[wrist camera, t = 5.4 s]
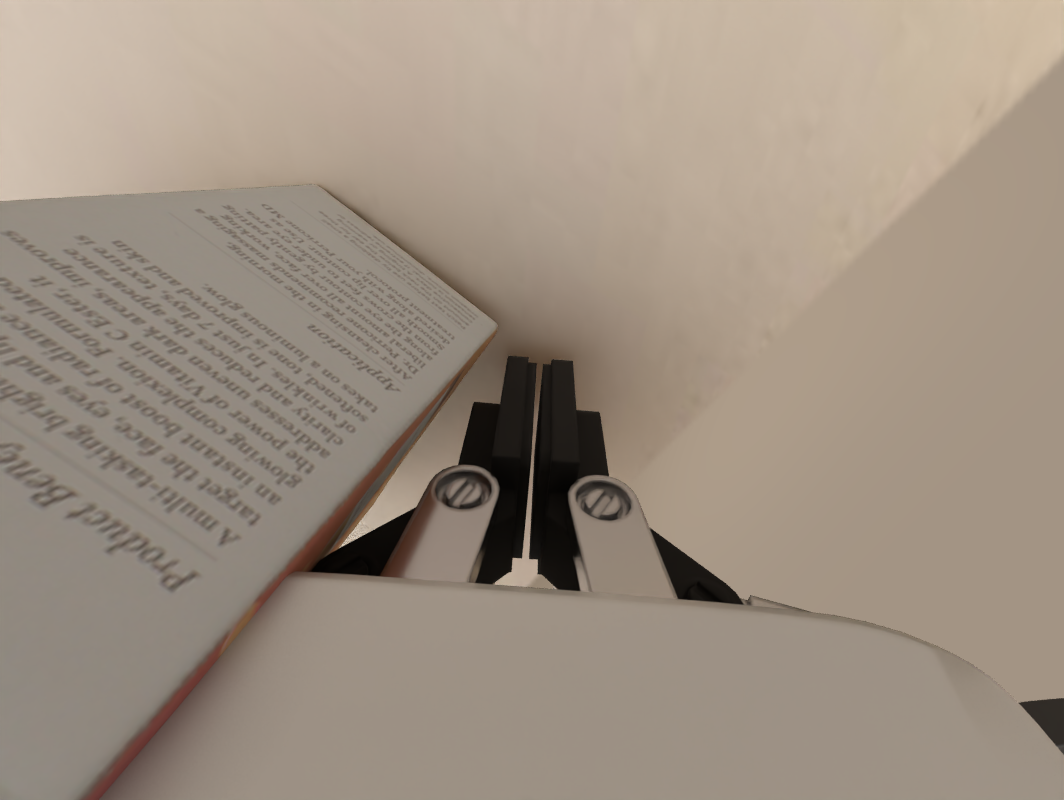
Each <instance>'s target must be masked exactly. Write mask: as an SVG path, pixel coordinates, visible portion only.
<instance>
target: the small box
mask: <svg viewBox="0 0 1064 800" xmlns="http://www.w3.org/2000/svg"><path fill="white" fill-rule="evenodd" d="M497 329H498V326H497V323H495V322H494V321H493V320H492V319H491V318H490V317H488V316H487V315H486V314H484V313H483V312H482V311H480V310H479V309H478V308H477V307H475V306H474V305H473V304H471V303H470V302H469V301H467V300H466V299H465V298H464V297H462V296H461V295H460V294H459V293H457V292H456V291H455V290H453V289H452V288H451V287H450V286H448V285H447V284H446V283H444V282H443V281H442V280H441V279H439V278H438V277H437V276H436V275H434V274H433V273H432V272H430V271H429V270H428V269H427V268H425V267H424V266H423V265H421V264H420V263H419V262H417V261H416V260H415V259H414V258H412V257H411V256H410V255H408V254H407V253H406V252H404V251H403V250H402V249H401V248H399V247H398V246H397V245H395V244H394V243H393V242H392V241H390V240H389V239H388V238H386V237H385V236H384V235H382V234H381V233H380V232H379V231H377V230H376V229H375V228H373V227H372V226H371V225H369V224H368V223H367V222H365V221H364V220H363V219H362V218H360V217H359V216H358V215H356V214H355V213H354V212H352V211H351V210H350V209H348V208H347V207H346V206H344V205H343V204H342V203H340V202H339V201H338V200H336V199H335V198H334V197H332V196H331V195H330V194H329V193H328V192H326V191H325V190H324V189H323V188H321V187H319V186H317V185H315V184H309V185H294V186H275V187H260V188H239V189H222V190H201V191H182V192H163V193H145V194H124V195H102V196H80V197H64V198H48V199H31V200H14V201H0V800H99V799H100V798H101V797H102V796H103V794H104V793H105V792H106V791H107V790H108V789H109V787H110V786H111V785H112V784H113V783H114V782H115V780H116V779H117V778H118V777H119V776H120V775H121V773H122V772H123V771H124V770H125V769H126V768H127V766H128V765H129V764H130V763H131V762H132V761H133V759H134V758H135V757H136V756H137V755H138V754H139V752H140V751H141V750H142V749H143V748H144V747H145V745H146V744H147V743H148V742H149V741H150V740H151V738H152V737H153V736H154V735H155V734H156V733H157V731H158V730H159V729H160V728H161V727H162V726H163V724H164V723H165V722H166V721H167V720H168V719H169V717H170V716H171V715H172V714H173V713H174V711H175V710H176V709H177V708H178V707H179V705H180V704H181V703H182V702H183V701H184V699H185V698H186V697H187V696H188V695H189V693H190V692H191V691H192V690H193V689H194V687H195V686H196V685H197V684H198V683H199V681H200V680H201V679H202V678H203V677H204V675H205V674H206V673H207V672H208V670H209V669H210V668H211V667H212V666H213V664H214V663H215V662H216V661H217V660H218V658H219V657H220V656H221V655H222V654H223V652H224V651H225V650H226V649H227V648H228V646H229V645H230V644H231V643H232V642H233V640H234V639H235V638H236V637H237V635H238V634H239V633H240V632H241V631H242V629H243V628H244V627H245V626H246V625H247V623H248V622H249V621H250V620H251V619H252V617H253V616H254V615H255V614H256V613H257V611H258V610H259V609H260V608H261V606H262V605H263V604H264V603H265V602H266V600H267V599H268V598H269V597H270V596H271V594H272V593H273V592H274V591H275V590H276V588H277V587H278V586H279V585H280V583H281V582H282V581H283V580H284V579H285V577H287V576H288V575H289V574H291V573H293V572H295V571H300V572H311V571H312V569H313V568H314V567H315V566H316V564H317V563H318V562H319V561H320V560H321V559H323V558H324V557H326V556H327V555H328V554H330V553H332V552H334V551H335V550H337V549H338V548H339V547H340V546H341V545H342V543H343V542H344V541H345V540H346V538H347V537H348V536H349V534H350V533H351V532H352V531H353V529H354V528H355V527H356V526H357V524H358V523H359V522H360V520H361V519H362V518H363V517H364V515H365V514H366V513H367V512H368V510H369V509H370V508H371V507H372V505H373V504H374V502H375V501H376V499H377V498H378V496H379V495H380V493H381V492H382V490H383V489H384V487H385V486H386V484H387V482H388V481H389V480H390V478H391V477H392V475H393V474H394V472H395V471H396V469H397V468H398V466H399V465H400V464H401V462H402V461H403V460H404V458H405V457H406V455H407V454H408V453H409V451H410V450H411V449H412V447H413V446H414V445H415V443H416V442H417V440H418V439H419V438H420V436H421V435H422V434H423V432H424V431H425V430H426V428H427V427H428V426H429V424H430V423H431V421H432V420H433V419H434V417H435V416H436V415H437V413H438V412H439V411H440V409H441V408H442V406H443V405H444V404H445V402H446V401H447V400H448V398H449V397H450V396H451V394H452V393H453V392H454V390H455V389H456V387H457V386H458V385H459V383H460V382H461V381H462V379H463V378H464V377H465V375H466V374H467V373H468V371H469V370H470V368H471V367H472V366H473V364H474V363H475V362H476V360H477V359H478V357H479V356H480V355H481V353H482V352H483V351H484V349H485V348H486V347H487V345H488V344H489V342H490V341H491V340H492V338H493V337H494V335H495V334H496V332H497Z"/></svg>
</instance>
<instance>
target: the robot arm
mask: <svg viewBox="0 0 1064 800" xmlns="http://www.w3.org/2000/svg"><path fill="white" fill-rule="evenodd" d="M528 362H529V357H518V356H508V359H507V365H506V371H505V377H504V384H503V390H502V396H501V402H500V404H493V403H481V402H474V403H473V407H472V411H471V415H470V419H469V423H468V427H467V431H466V435H465V439H464V443H463V447H462V451H461V455H460V459H459V463H458V465H457V466H452V467H449V468H446V469H444V470H442V471H440V472H439V473H438V474H436V475H435V476H434V477H433V479H432V480H431V481H430V483H429V484H428V486H427V488H426V490H425V492H424V494H423V496H422V498H421V499H420V501H419V503H418V505H417V507H416V508H414V509H412V510H410V511H408V512H406V513H404V514H403V515H401V516H399V517H397V518H395V519H393V520H391V521H390V522H388V523H386V524H384V525H382V526H380V527H378V528H376V529H375V530H373V531H371V532H369V533H367V534H365V535H363V536H362V537H360V538H358V539H356V540H354V541H352V542H350V543H348V544H347V545H345V546H343V547H341V548H339V549H337V550H335V551H334V552H332V553H330V554H328V555H327V556H326V557H324V558H323V559H321V560H320V561H319V562H318V563H317V564H316V566H315V567H314V568H313V569H312V571H311V572H300V571H295V572H293V573H291V574H289V575H288V576H287V577H285V579H284V580H283V581H282V582H281V583H280V585H279V586H278V587H277V588H276V590H275V591H274V592H273V593H272V594H271V596H270V597H269V598H268V599H267V600H266V602H265V603H264V604H263V605H262V606H261V608H260V609H259V610H258V611H257V613H256V614H255V615H254V616H253V617H252V619H251V620H250V621H249V622H248V623H247V625H246V626H245V627H244V628H243V629H242V631H241V632H240V633H239V634H238V635H237V637H236V638H235V639H234V640H233V642H232V643H231V644H230V645H229V646H228V648H227V649H226V650H225V651H224V652H223V654H222V655H221V656H220V657H219V658H218V660H217V661H216V662H215V663H214V664H213V666H212V667H211V668H210V669H209V670H208V672H207V673H206V674H205V675H204V677H203V678H202V679H201V680H200V681H199V683H198V684H197V685H196V686H195V687H194V689H193V690H192V691H191V692H190V693H189V695H188V696H187V697H186V698H185V699H184V701H183V702H182V703H181V704H180V705H179V707H178V708H177V709H176V710H175V711H174V713H173V714H172V715H171V716H170V717H169V719H168V720H167V721H166V722H165V723H164V724H163V726H162V727H161V728H160V729H159V730H158V731H157V733H156V734H155V735H154V736H153V737H152V738H151V740H150V741H149V742H148V743H147V744H146V745H145V747H144V748H143V749H142V750H141V751H140V752H139V754H138V755H137V756H136V757H135V758H134V759H133V761H132V762H131V763H130V764H129V765H128V766H127V768H126V769H125V770H124V771H123V772H122V773H121V775H120V776H119V777H118V778H117V779H116V780H115V782H114V783H113V784H112V785H111V786H110V787H109V789H108V790H107V791H106V792H105V793H104V794H103V796H102V797H101V798H100V799H99V800H1064V755H1063V753H1062V752H1061V751H1060V750H1059V749H1058V747H1057V746H1056V745H1055V744H1054V743H1053V742H1052V740H1051V739H1050V738H1049V737H1048V736H1047V734H1046V733H1045V732H1044V731H1043V730H1042V728H1041V727H1040V726H1039V725H1038V724H1037V723H1036V722H1035V720H1034V719H1033V718H1032V717H1031V716H1030V715H1029V714H1028V713H1027V712H1026V711H1025V709H1024V708H1023V707H1022V706H1021V705H1020V704H1019V703H1018V702H1017V701H1016V700H1015V699H1014V698H1013V697H1012V696H1011V695H1010V694H1009V693H1008V692H1007V691H1006V690H1005V689H1003V688H1002V687H1001V686H1000V685H999V684H998V683H997V682H996V681H994V680H993V679H992V678H991V677H990V676H988V675H987V674H985V673H984V672H983V671H981V670H980V669H978V668H977V667H975V666H974V665H973V664H971V663H969V662H967V661H965V660H964V659H962V658H960V657H958V656H956V655H955V654H953V653H950V652H948V651H946V650H944V649H942V648H940V647H938V646H936V645H933V644H931V643H928V642H926V641H923V640H921V639H918V638H915V637H913V636H911V635H908V634H906V633H903V632H900V631H896V630H893V629H890V628H886V627H883V626H879V625H876V624H872V623H869V622H865V621H860V620H855V619H850V618H846V617H841V616H835V615H829V614H821V613H813V612H809V611H805V610H802V609H799V608H795V607H791V606H788V605H784V604H780V603H777V602H773V601H769V600H766V599H762V598H759V597H755V596H751V595H750V597H749V599H748V600H744V599H741V598H739V596H738V595H737V594H736V592H735V591H733V590H732V589H731V588H730V587H729V586H728V585H727V584H726V583H724V582H723V581H722V580H720V579H719V578H717V577H716V576H714V575H713V574H712V573H711V572H709V571H708V570H707V569H705V568H704V567H703V566H701V565H700V564H698V563H697V562H696V561H694V560H693V559H692V558H690V557H689V556H687V555H686V554H685V553H683V552H682V551H681V550H679V549H678V548H677V547H675V546H674V545H672V544H671V543H670V542H668V541H667V540H666V539H664V538H663V537H662V536H660V535H659V534H657V533H656V532H655V531H653V530H652V529H651V528H649V526H648V523H647V521H646V518H645V516H644V513H643V511H642V508H641V506H640V503H639V501H638V498H637V497H636V495H635V493H634V492H633V490H631V488H629V487H628V486H627V485H626V484H625V483H623V482H621V481H619V480H617V479H615V478H612V477H609V473H608V466H607V459H606V452H605V445H604V438H603V431H602V424H601V417H600V413H599V412H593V411H581V410H576V399H575V385H574V371H573V361H568V360H555V359H552V361H551V365H549V364H543V370H542V380H541V390H540V401H539V411H538V421H537V432H536V442H535V454H534V473H533V493H532V513H531V533H530V553H529V559H538V574H542V575H543V576H544V577H545V578H547V580H548V581H549V582H550V583H551V584H553V585H554V587H553V589H544V588H531V587H518V586H505V585H495V582H496V581H497V580H499V579H500V578H501V577H503V576H504V575H506V574H507V573H508V572H511V570H512V559H513V558H522V552H523V541H524V530H525V520H526V509H527V498H528V487H529V476H530V465H531V452H532V435H533V418H534V400H535V383H536V366H537V363H528Z"/></svg>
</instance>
